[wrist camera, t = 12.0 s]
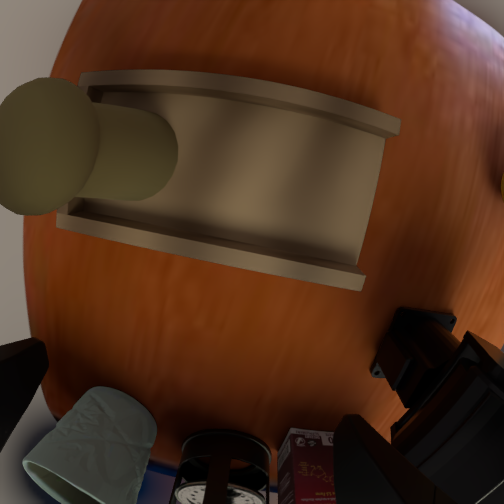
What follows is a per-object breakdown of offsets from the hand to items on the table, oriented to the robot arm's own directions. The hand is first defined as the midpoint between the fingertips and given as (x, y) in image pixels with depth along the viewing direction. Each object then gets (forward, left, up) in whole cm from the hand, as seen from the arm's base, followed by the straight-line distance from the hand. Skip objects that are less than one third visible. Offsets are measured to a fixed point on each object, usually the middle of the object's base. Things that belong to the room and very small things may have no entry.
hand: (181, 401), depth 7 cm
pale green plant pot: (+9, +19, -13) cm, 25 cm away
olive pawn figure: (+7, -6, -12) cm, 15 cm away
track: (+2, -6, -13) cm, 14 cm away
